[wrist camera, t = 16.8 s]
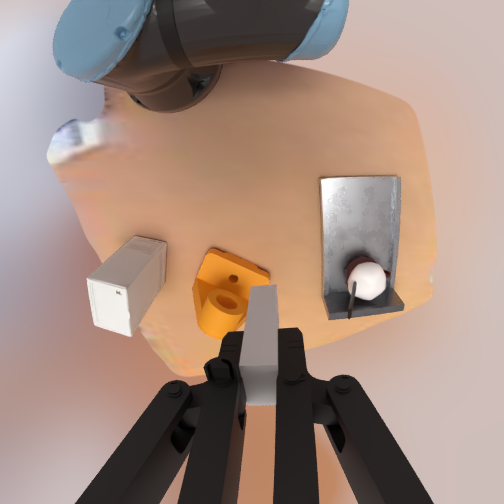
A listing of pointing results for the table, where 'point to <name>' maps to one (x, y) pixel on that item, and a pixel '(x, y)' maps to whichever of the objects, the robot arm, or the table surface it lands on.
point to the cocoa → (365, 280)
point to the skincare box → (127, 284)
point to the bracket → (224, 292)
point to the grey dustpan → (359, 239)
